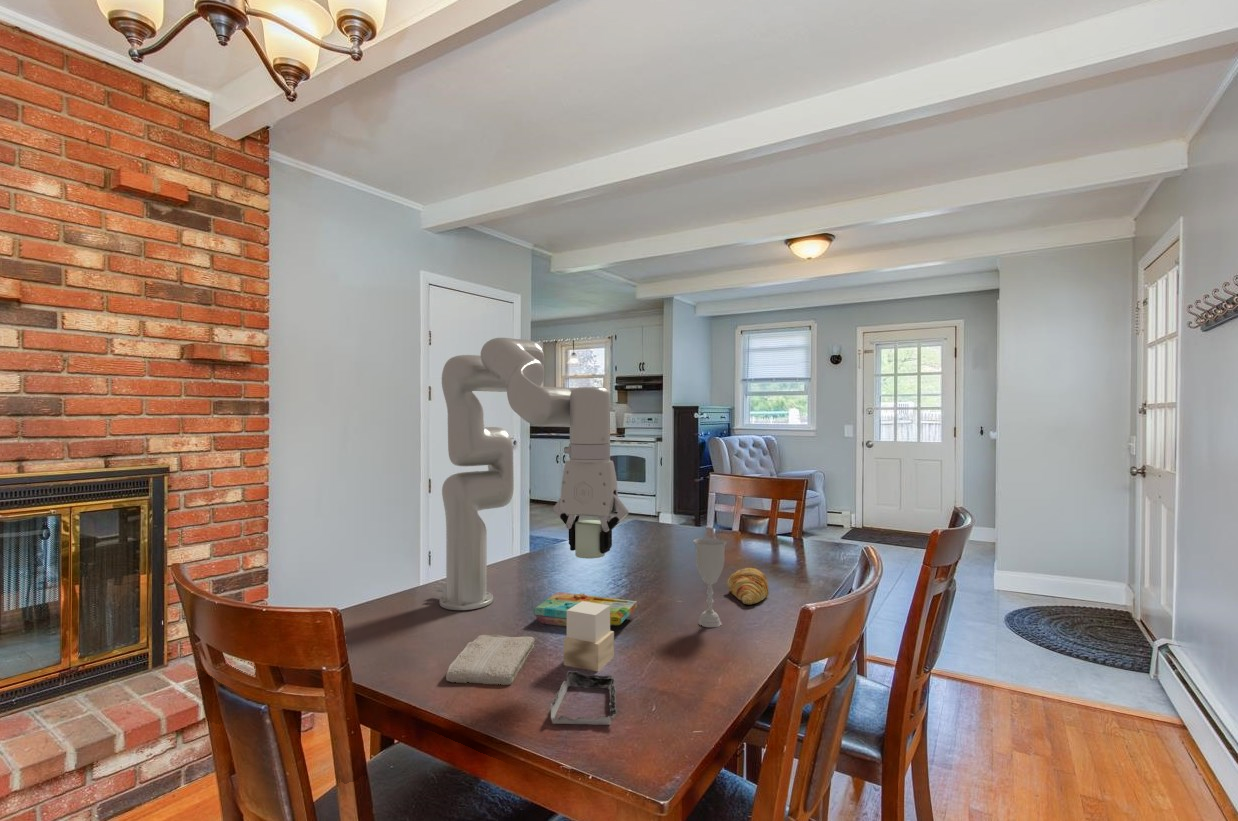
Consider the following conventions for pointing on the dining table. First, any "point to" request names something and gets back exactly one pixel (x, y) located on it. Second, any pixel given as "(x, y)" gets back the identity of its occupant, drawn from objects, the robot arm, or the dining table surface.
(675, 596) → the dining table surface
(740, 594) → the croissant
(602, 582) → the dining table surface
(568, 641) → the oak base block
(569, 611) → the cream middle block
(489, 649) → the washcloth
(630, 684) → the dining table surface
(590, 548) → the sage round block
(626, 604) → the puzzle game
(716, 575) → the chalice
